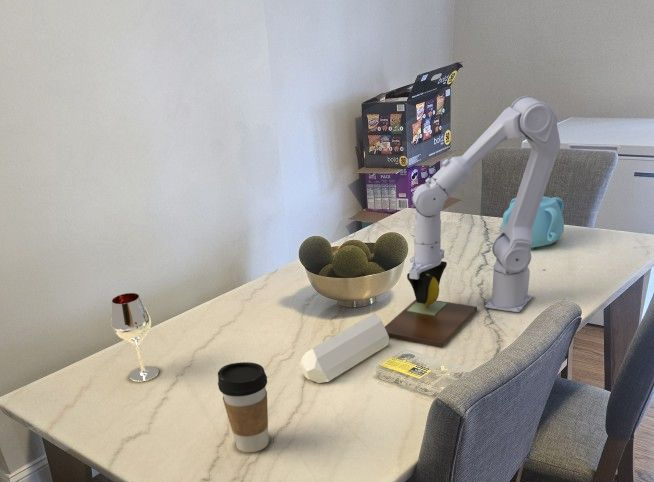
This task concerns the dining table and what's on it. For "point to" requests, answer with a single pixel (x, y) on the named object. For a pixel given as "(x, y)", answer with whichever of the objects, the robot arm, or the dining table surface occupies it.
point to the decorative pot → (544, 221)
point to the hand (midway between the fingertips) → (427, 297)
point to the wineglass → (132, 328)
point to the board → (430, 322)
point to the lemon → (432, 292)
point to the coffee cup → (246, 404)
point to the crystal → (345, 350)
